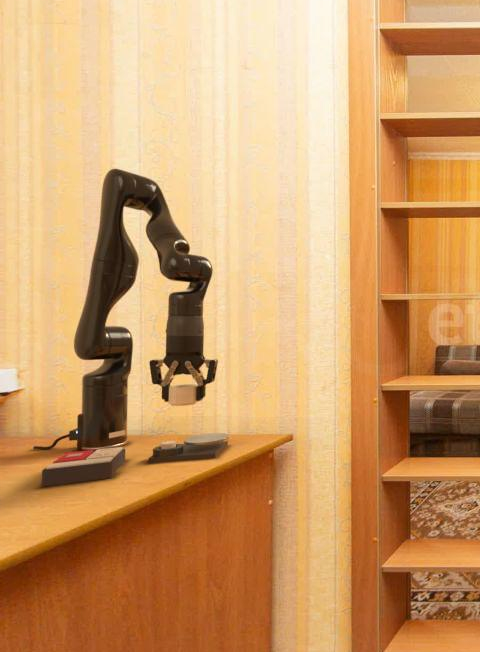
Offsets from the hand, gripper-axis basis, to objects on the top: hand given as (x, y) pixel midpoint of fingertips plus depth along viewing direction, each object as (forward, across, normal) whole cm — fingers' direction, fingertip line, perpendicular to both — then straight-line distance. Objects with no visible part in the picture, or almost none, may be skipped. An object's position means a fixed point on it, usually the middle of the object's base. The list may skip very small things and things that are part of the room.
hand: (183, 400), depth 109 cm
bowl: (+1, 0, 0) cm, 1 cm away
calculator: (+16, +17, +4) cm, 23 cm away
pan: (+12, -3, -9) cm, 15 cm away
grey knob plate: (+15, 0, -7) cm, 17 cm away
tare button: (+13, +4, -4) cm, 14 cm away
